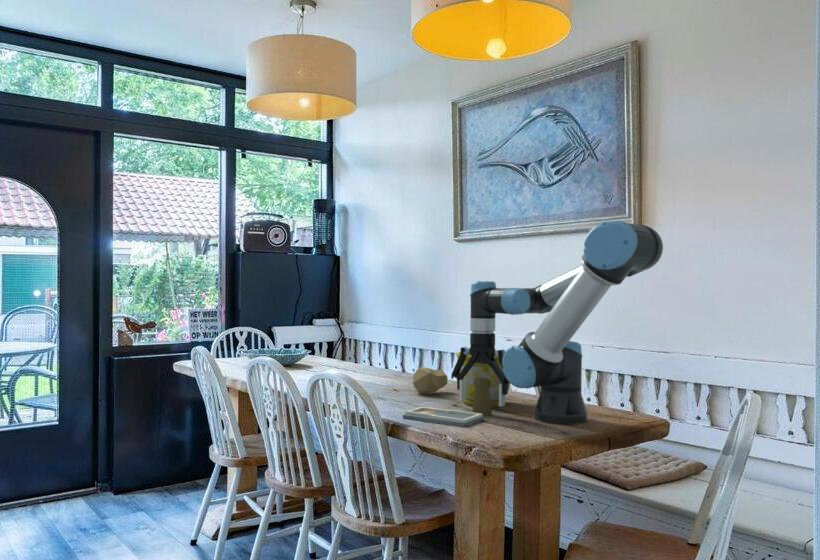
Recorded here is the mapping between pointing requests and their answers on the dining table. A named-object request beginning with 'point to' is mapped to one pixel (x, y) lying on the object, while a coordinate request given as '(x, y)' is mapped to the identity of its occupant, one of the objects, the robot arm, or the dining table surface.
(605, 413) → the dining table surface
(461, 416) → the grey shallow tray
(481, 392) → the cork
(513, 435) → the dining table surface
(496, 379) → the flowerpot
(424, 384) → the low-poly potato
